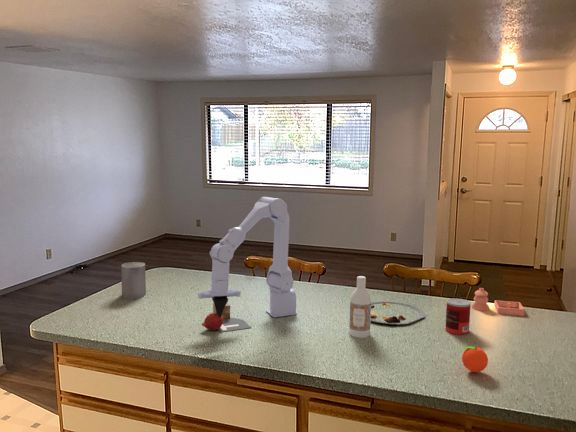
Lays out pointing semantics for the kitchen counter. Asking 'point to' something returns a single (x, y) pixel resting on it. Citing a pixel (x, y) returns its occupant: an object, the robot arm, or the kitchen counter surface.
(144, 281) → the pillar candle
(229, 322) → the letter mat
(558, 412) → the kitchen counter surface
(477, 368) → the clementine
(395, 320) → the food plate
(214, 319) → the onion
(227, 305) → the walnut block
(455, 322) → the canned food
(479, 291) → the pottery
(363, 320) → the bath foam
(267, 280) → the robot arm
